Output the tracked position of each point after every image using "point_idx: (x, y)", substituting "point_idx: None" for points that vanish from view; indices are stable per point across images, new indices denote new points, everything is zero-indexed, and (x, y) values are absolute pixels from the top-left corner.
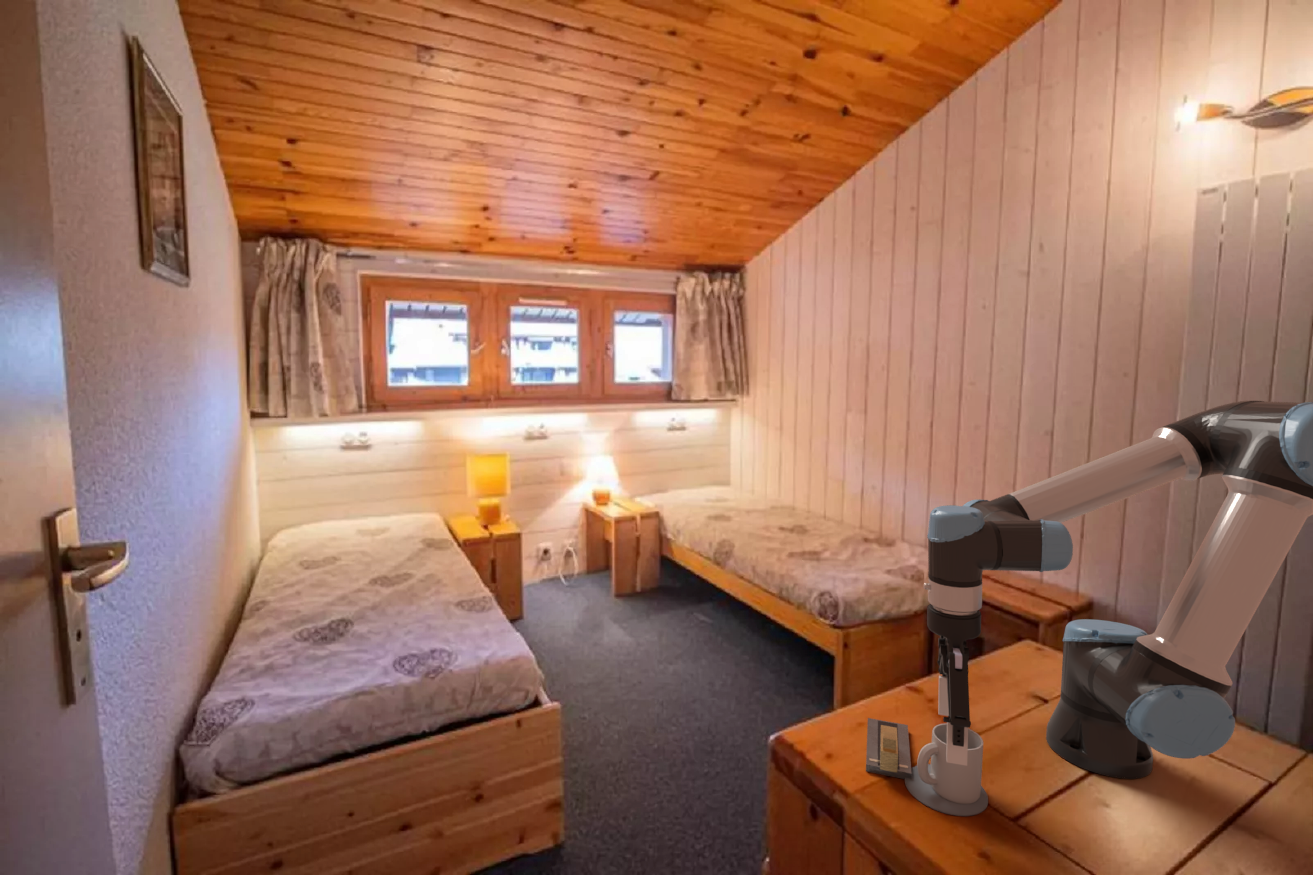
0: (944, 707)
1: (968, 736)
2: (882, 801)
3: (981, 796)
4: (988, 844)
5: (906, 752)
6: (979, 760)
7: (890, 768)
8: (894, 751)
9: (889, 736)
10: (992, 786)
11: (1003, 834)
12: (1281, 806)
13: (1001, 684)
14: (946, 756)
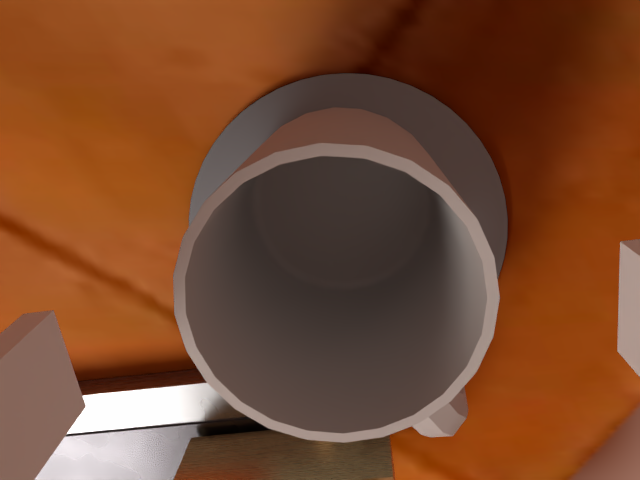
0: (47, 412)
1: (209, 222)
2: (523, 427)
3: (335, 100)
4: (636, 70)
5: (206, 394)
6: (408, 148)
7: (391, 450)
8: None
9: None
10: (220, 54)
11: (547, 11)
12: None
13: None
14: (630, 362)
